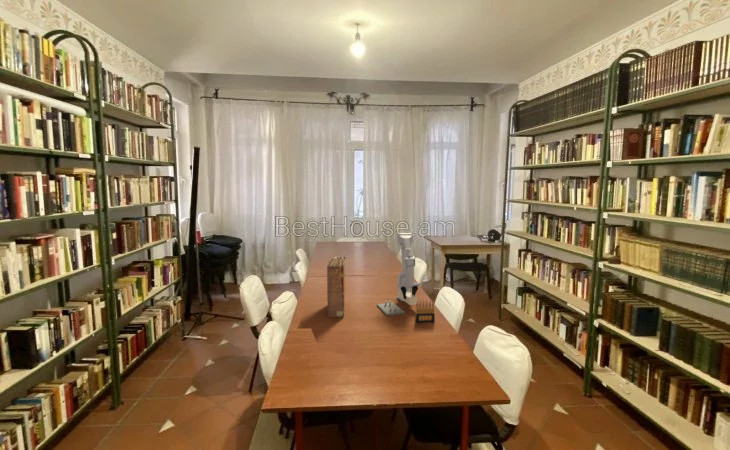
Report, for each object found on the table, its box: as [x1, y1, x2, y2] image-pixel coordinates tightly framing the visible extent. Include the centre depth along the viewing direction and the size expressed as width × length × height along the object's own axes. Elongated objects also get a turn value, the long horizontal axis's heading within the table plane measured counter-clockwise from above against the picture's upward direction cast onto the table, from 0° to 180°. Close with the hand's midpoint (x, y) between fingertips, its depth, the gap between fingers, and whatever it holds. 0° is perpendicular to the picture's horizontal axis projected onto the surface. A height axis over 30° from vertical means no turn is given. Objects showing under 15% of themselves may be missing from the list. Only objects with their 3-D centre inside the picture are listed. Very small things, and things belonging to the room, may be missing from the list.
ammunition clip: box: [414, 300, 436, 324], centre depth 210 cm, size 11×2×12 cm, turn 94°
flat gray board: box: [376, 299, 405, 316], centre depth 230 cm, size 18×11×4 cm, turn 16°
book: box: [326, 257, 346, 319], centre depth 227 cm, size 25×9×30 cm, turn 2°
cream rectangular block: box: [401, 291, 418, 306], centre depth 234 cm, size 14×5×4 cm, turn 16°
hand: (408, 298), depth 234 cm, fingers closed on cream rectangular block, 5 cm apart
